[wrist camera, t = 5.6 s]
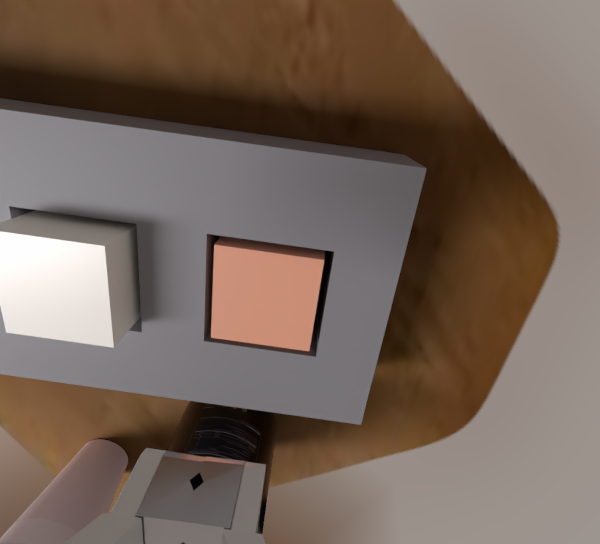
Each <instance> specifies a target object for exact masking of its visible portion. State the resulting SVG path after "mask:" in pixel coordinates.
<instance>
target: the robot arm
mask: <svg viewBox="0 0 600 544" xmlns="http://www.w3.org/2000/svg"><path fill="white" fill-rule="evenodd" d="M265 469H266V464H260V463H252V462H246V461H241V460H232V459H224V458H216V457H207V456H206V457H201V456H195V455H189V454H183V453H177V452H171V451H165V450H158V449H151V448H146V449H145V450H144V451H143V452H142V453H141V455H140V457H139V459H138V461H137V463H136V464H135V466H134V468H133V470H132V472H131V474H130V476H129V478H128V480H127V482H126V484H125V486H124V488H123V489H122V491H121V493H120V495H119V497H118V499H117V501H116V503H115V505H114V507H113V509H112V511H111V513H103V514H101V515H100V516H99V517H97V518H96V519H95V520H93V521H92V522H91V523H90V524H88V525H87V526H86V527H84V528H83V529H82V530H80V531H79V532H78V533H77V534H75V535H74V536H73V537H71V538H70V539H69V540H67V541H66V542H65V543H64V544H265V541H264V538H263V536H262V534H258V533H257V530H258V523H259V516H260V508H261V500H262V493H263V485H264V477H265Z"/></svg>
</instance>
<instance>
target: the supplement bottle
mask: <svg viewBox="0 0 600 544" xmlns="http://www.w3.org/2000/svg"><path fill="white" fill-rule="evenodd" d="M275 435H276V420H275V416H274V414H273V412H266V411H259V410H252V409H245V408H238V407H231V406H224V405H216V404H209V403H202V402H195V401H190V403H189V404H188V406H187V407H186V410H185V412H184V414H183V416H182V418H181V420H180V422H179V424H178V427H177V429H176V431H175V433H174V436H173V438H172V440H171V442H170V444H169V447H168V449H167V451H171V452H177V453H183V454H189V455H195V456H201V457H206V456H207V457H216V458H224V459H232V460H241V461H246V462H252V463H260V464H266V469H265V477H264V485H263V493H262V500H261V508H260V516H259V523H258V530H257V533H258V534H262V533H263V526H264V519H265V511H266V504H267V496H268V489H269V481H270V474H271V467H272V459H273V452H274V444H275Z"/></svg>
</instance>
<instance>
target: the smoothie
mask: <svg viewBox="0 0 600 544" xmlns="http://www.w3.org/2000/svg"><path fill="white" fill-rule="evenodd" d="M127 464H128V456H127V454H126V452H125V451H124V450H123V449H122V448H121V447H120V446H119V445H117V444H116V443H114V442H111V441H108V440H103V439H96V440H92V441H89V442H88V443H86V444H85V446H84V447H83V448H82V449H81V450H80V451H79V452H78V453H77V454H76V455H75V457H74V458H73V459H72V460H71V461H70V462H69V463H68V464H67V465H66V467H65V468H64V469H63V470H62V471H61V472H60V473H59V474H58V475H57V476H56V478H55V479H54V480H53V481H52V482H51V483H50V484H49V486H47V488H46V489H45V490H44V491H43V492H42V493H41V494H40V495H39V496H38V498H37V499H36V500H35V501H34V502H33V503H32V504H31V505H30V507H28V509H27V510H26V511H25V512H24V513H23V514H22V515H21V516H20V517H19V519H18V520H17V521H16V522H15V523H14V524H13V525H12V526H11V527H10V528H9V529H8V530H7V532H6V533H5V534H4V535H3V536H2V537H1V538H0V544H64V543H65V542H66V541H67V540H69V539H70V538H71V537H73V536H74V535H75V534H77V533H78V532H79V531H80V530H82V529H83V528H84V527H86V526H87V525H88V524H90V523H91V522H92V521H93V520H95V519H96V518H97V517H99V516H100V515H101V514H103V513H108V512H109V510H110V507H111V505H112V502H113V500H114V497H115V495H116V492H117V490H118V487H119V484H120V482H121V479H122V477H123V474H124V472H125V469H126V467H127Z"/></svg>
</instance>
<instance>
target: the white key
mask: <svg viewBox="0 0 600 544" xmlns="http://www.w3.org/2000/svg"><path fill="white" fill-rule="evenodd" d="M0 307H1V311H2V316H3V320H4V325H5V329H6V333H13V334H20V335H27V336H34V337H41V338H49V339H56V340H63V341H70V342H77V343H84V344H91V345H98V346H105V347H112V348H114V347H115V346H116V345H117V343H118V342H119V341H120V340H121V339H122V338H123V337H124V335H125V334H126V333H127V332H128V331H129V330H130V329H131V327H132V326H133V325H134V324H135V323H136V322H137V321H138V319H139V318H140V317H141V303H140V284H139V265H138V246H137V226H136V224H133V223H126V222H119V221H112V220H104V219H97V218H90V217H83V216H76V215H69V214H61V213H54V212H47V211H40V210H35V211H32V212H29V213H26V214H23V215H21V216H18V217H15V218H12V219H9V220H7V221H4V222H1V223H0Z"/></svg>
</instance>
